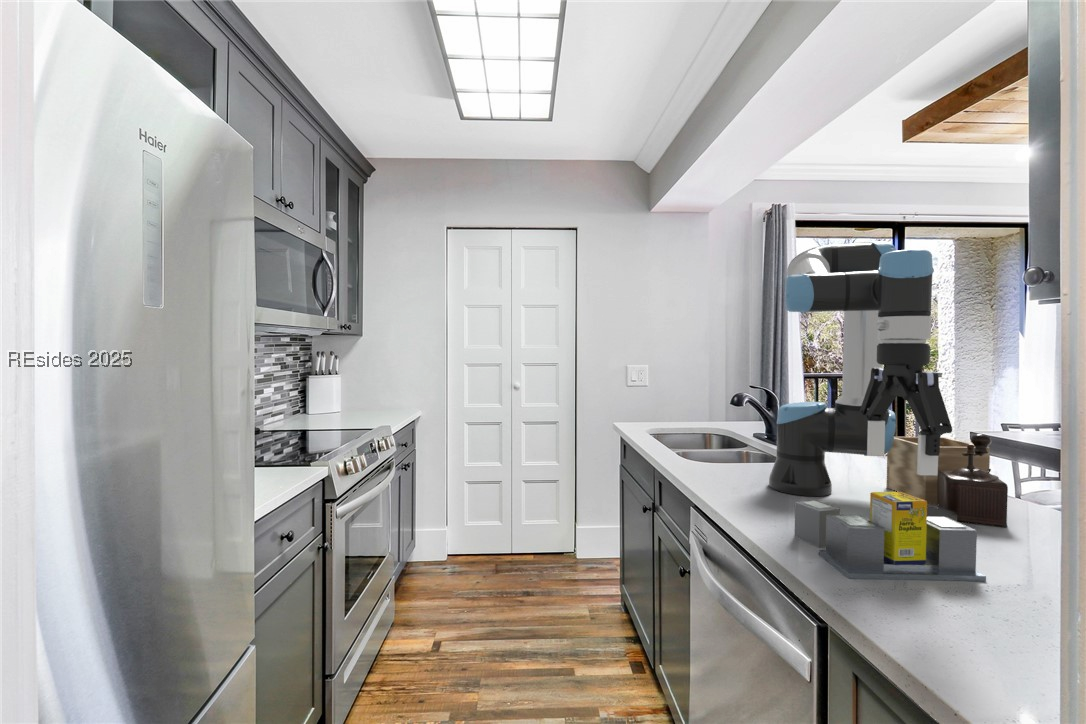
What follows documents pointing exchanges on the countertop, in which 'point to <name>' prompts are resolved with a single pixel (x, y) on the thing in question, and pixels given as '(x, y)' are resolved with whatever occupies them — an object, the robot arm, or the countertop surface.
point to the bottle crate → (925, 486)
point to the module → (812, 521)
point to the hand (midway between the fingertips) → (899, 464)
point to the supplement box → (901, 526)
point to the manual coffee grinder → (974, 490)
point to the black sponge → (941, 513)
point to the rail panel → (862, 557)
